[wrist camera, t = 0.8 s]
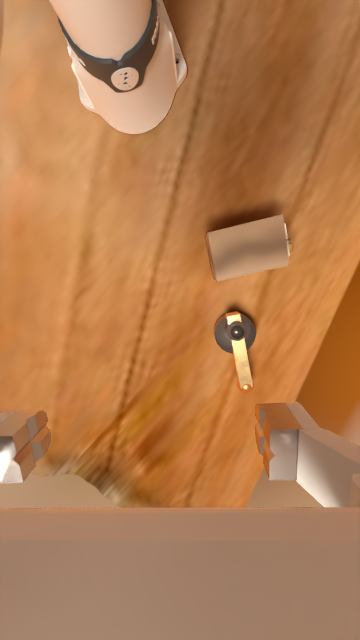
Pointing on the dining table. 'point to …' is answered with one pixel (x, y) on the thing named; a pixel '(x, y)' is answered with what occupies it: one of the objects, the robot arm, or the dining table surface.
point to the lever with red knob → (237, 344)
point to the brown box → (248, 248)
